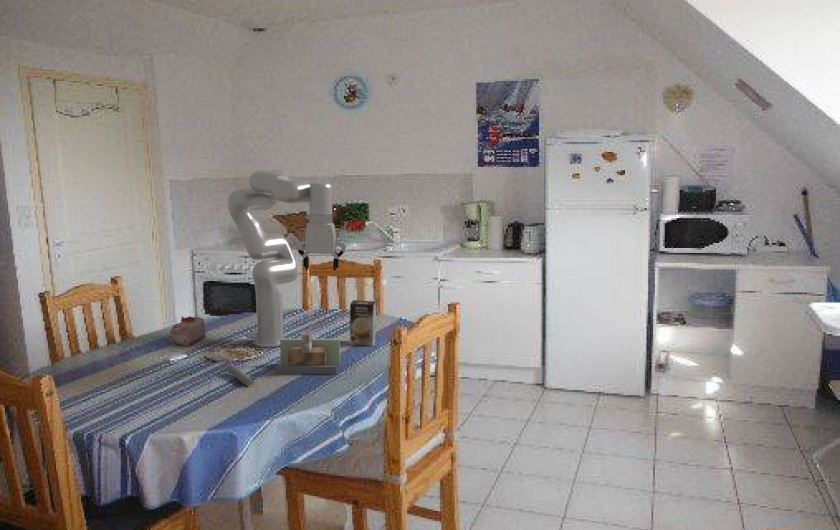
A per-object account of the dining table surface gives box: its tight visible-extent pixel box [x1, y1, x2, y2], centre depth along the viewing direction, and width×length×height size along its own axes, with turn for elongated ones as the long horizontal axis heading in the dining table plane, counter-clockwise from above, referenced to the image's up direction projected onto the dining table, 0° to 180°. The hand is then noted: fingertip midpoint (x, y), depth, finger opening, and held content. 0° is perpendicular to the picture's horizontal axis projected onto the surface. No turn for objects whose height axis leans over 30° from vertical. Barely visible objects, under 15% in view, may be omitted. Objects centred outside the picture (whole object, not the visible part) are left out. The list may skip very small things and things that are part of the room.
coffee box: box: [349, 299, 377, 347], centre depth 251 cm, size 9×6×16 cm
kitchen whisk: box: [205, 346, 254, 388], centre depth 217 cm, size 6×34×6 cm, turn 39°
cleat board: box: [274, 337, 341, 375], centre depth 222 cm, size 20×11×9 cm, turn 91°
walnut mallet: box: [288, 330, 328, 366], centre depth 221 cm, size 12×6×13 cm, turn 91°
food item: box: [169, 316, 206, 347], centre depth 252 cm, size 14×8×10 cm, turn 167°
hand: (321, 269), depth 227 cm, fingers open, 9 cm apart
